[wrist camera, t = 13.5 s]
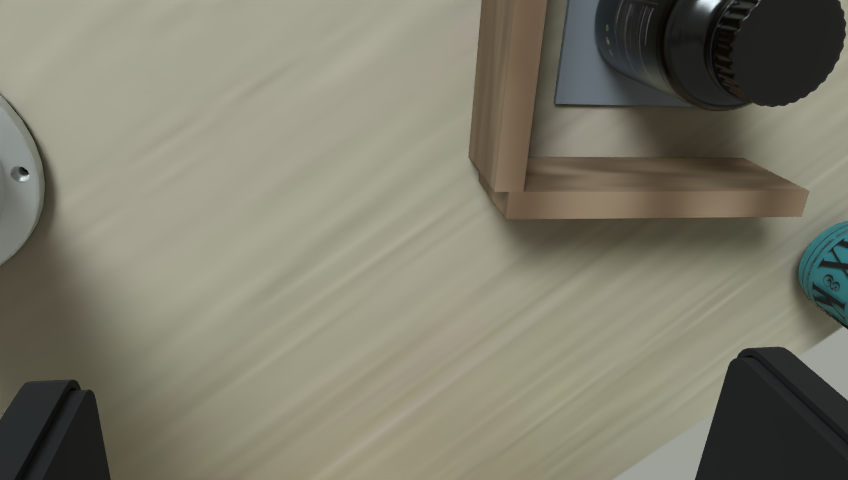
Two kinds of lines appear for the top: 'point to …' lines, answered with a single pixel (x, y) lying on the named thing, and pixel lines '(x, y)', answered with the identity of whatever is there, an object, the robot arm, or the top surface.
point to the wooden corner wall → (591, 176)
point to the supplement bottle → (723, 47)
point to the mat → (596, 68)
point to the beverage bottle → (828, 272)
